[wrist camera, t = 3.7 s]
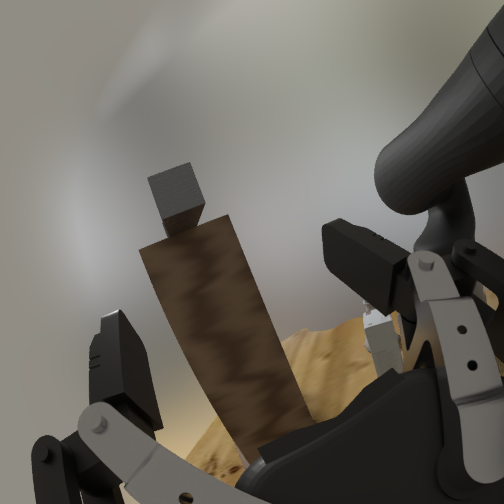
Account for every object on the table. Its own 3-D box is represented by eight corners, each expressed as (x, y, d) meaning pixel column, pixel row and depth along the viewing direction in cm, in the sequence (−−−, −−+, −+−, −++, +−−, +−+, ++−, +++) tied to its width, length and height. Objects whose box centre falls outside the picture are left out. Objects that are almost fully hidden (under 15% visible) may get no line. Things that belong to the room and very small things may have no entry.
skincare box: (408, 386, 33) (394, 319, 33) (380, 395, 35) (363, 329, 34) (403, 365, 39) (389, 303, 38) (378, 373, 40) (362, 312, 40)
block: (194, 237, 42) (185, 214, 42) (211, 200, 18) (191, 150, 18) (171, 247, 41) (162, 223, 41) (156, 222, 17) (138, 169, 17)
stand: (289, 396, 46) (218, 228, 44) (330, 440, 30) (238, 209, 28) (229, 424, 43) (147, 257, 41) (250, 480, 27) (128, 253, 26)
